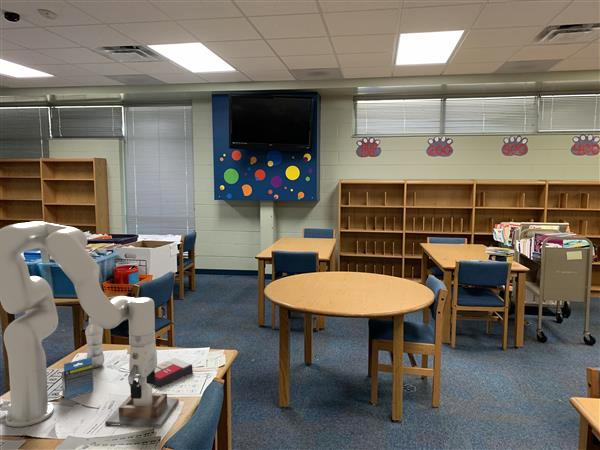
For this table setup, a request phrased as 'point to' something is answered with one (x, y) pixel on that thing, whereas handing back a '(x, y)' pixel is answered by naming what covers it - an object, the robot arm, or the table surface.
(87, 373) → the label tape cartridge
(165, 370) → the red and grey box
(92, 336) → the plastic bottle
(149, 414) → the stand
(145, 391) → the eye dropper bottle
